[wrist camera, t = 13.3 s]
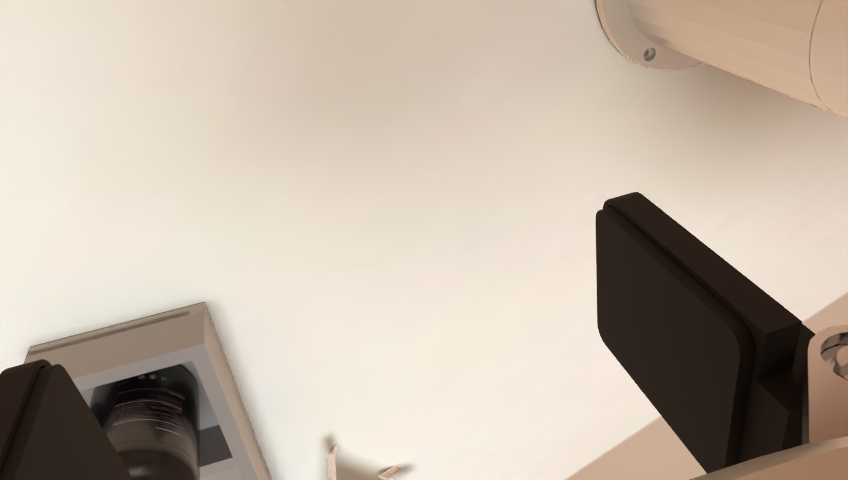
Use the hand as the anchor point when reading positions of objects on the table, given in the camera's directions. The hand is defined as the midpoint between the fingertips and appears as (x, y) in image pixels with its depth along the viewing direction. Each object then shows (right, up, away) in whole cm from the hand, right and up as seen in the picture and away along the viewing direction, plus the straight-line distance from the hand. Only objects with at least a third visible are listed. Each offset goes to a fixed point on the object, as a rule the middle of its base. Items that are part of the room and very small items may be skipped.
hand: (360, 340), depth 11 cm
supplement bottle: (-18, -9, +33) cm, 38 cm away
